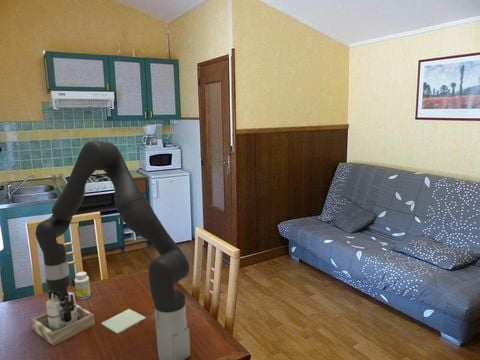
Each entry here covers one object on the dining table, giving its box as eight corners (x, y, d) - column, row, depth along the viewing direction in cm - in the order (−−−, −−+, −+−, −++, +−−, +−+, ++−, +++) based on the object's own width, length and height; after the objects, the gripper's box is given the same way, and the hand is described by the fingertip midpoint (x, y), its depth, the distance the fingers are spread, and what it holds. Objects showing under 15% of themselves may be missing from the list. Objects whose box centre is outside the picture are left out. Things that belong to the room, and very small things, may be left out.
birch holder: (94, 324, 136) (93, 314, 135) (53, 345, 125) (51, 334, 124) (73, 311, 145) (72, 301, 144) (32, 329, 134) (31, 319, 133)
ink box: (59, 335, 130) (55, 304, 128) (49, 332, 132) (44, 301, 129) (78, 322, 138) (75, 292, 136) (68, 319, 140) (64, 290, 137)
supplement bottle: (83, 292, 160) (80, 269, 158) (93, 294, 158) (91, 271, 156) (73, 298, 155) (70, 275, 153) (84, 301, 153) (81, 277, 151)
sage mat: (145, 318, 139) (145, 317, 139) (117, 334, 130) (117, 332, 130) (129, 309, 145) (129, 308, 145) (101, 324, 136) (100, 323, 136)
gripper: (78, 275, 129) (83, 319, 133) (57, 265, 138) (63, 306, 141) (56, 284, 124) (62, 329, 127) (36, 272, 132) (42, 315, 136)
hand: (62, 317), depth 134 cm, fingers open, 7 cm apart
